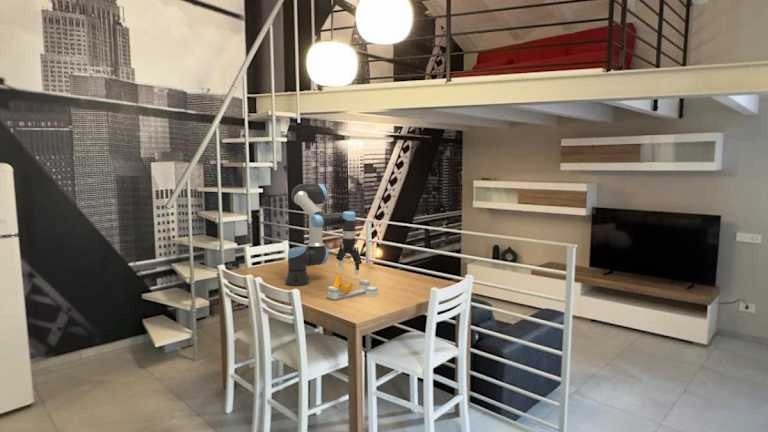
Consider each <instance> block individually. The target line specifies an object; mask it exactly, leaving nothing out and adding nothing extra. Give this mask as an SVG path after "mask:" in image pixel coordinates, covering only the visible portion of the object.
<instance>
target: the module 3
mask: <svg viewBox="0 0 768 432" xmlns="http://www.w3.org/2000/svg"><path fill="white" fill-rule="evenodd" d="M378 293H379V289H378V287H376V286H370V287H368V288H366V294H365V297H367V298H368V297H369V298H371V299H372V298H375V297H378Z"/></svg>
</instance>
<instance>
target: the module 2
mask: <svg viewBox="0 0 768 432" xmlns="http://www.w3.org/2000/svg"><path fill="white" fill-rule="evenodd" d="M358 281H359V282H358V284H359V285H358V287H359V288H358V289H359V290H360V289H361V290H364V291H366V288H368V287H371V284H370V283H371V282H370V281H371V280H366V279H359V280H358Z"/></svg>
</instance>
